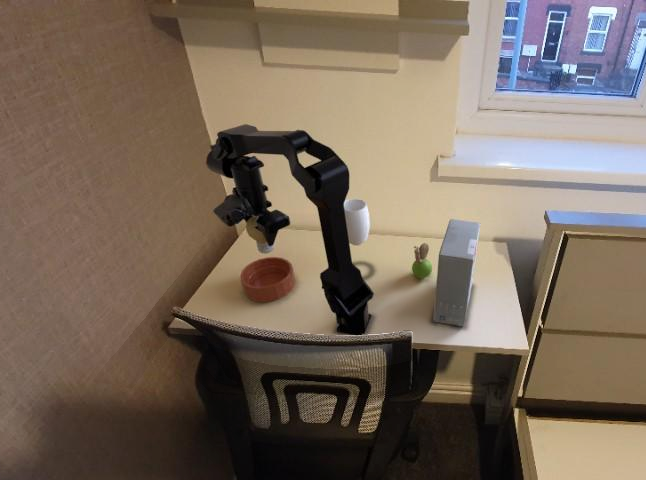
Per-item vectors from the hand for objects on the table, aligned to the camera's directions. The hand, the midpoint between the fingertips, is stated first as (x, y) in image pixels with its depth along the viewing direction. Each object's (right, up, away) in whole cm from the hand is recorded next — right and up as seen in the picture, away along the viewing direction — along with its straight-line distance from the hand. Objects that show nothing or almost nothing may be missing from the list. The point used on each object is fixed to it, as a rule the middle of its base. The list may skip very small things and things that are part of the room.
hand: (264, 240), depth 97 cm
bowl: (0, -12, +4) cm, 13 cm away
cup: (+21, -8, +11) cm, 26 cm away
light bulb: (0, -3, +2) cm, 3 cm away
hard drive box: (+47, -16, +2) cm, 49 cm away
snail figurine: (+38, -10, +10) cm, 41 cm away
